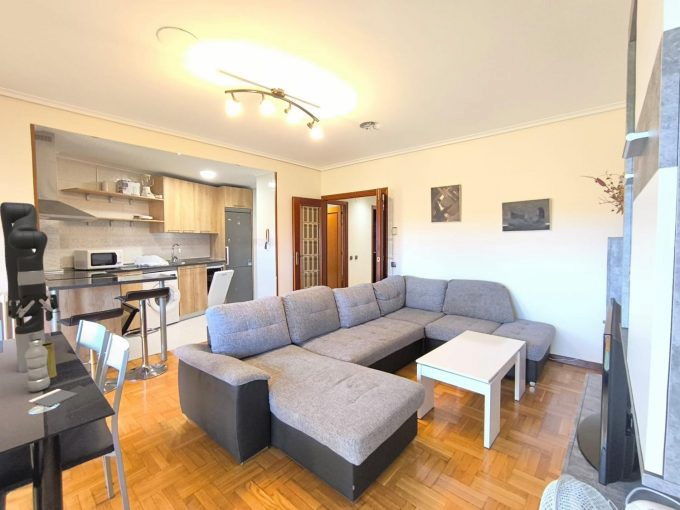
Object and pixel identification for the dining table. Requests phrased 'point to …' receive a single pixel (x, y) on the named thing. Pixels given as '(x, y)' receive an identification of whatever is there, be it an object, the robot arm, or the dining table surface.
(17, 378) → the dining table surface
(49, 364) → the vase
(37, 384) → the plastic bottle
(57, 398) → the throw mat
